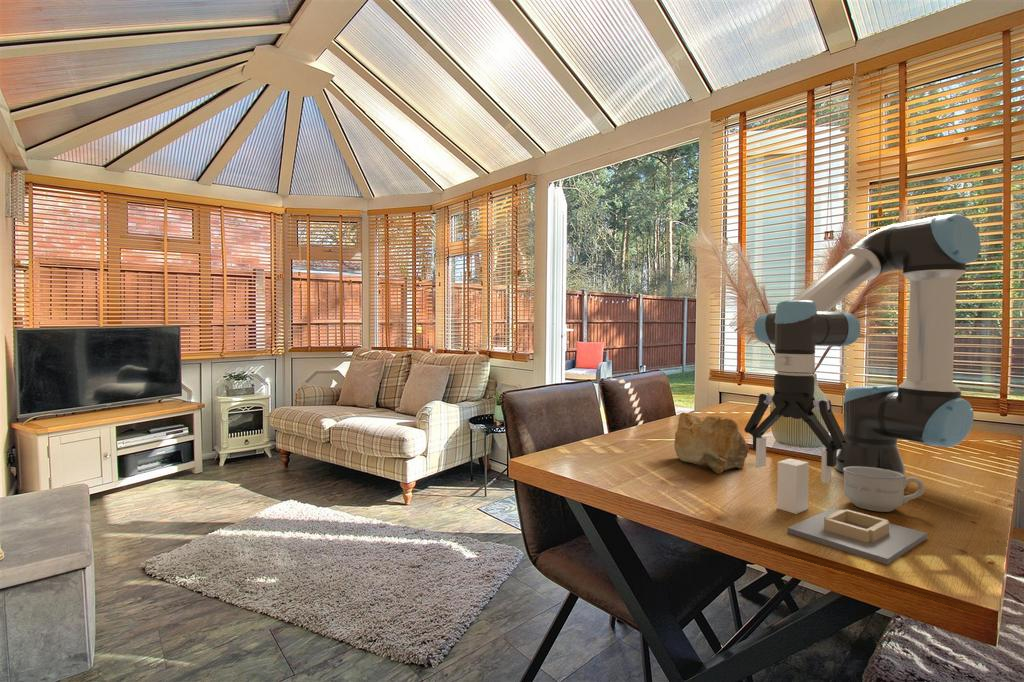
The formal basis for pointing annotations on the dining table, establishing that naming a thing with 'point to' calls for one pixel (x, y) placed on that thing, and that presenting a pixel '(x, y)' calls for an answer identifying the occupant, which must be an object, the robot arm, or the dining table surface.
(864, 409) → the robot arm
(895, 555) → the socket plate
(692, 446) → the rough brown rock
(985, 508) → the dining table surface
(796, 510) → the plug
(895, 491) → the teacup
